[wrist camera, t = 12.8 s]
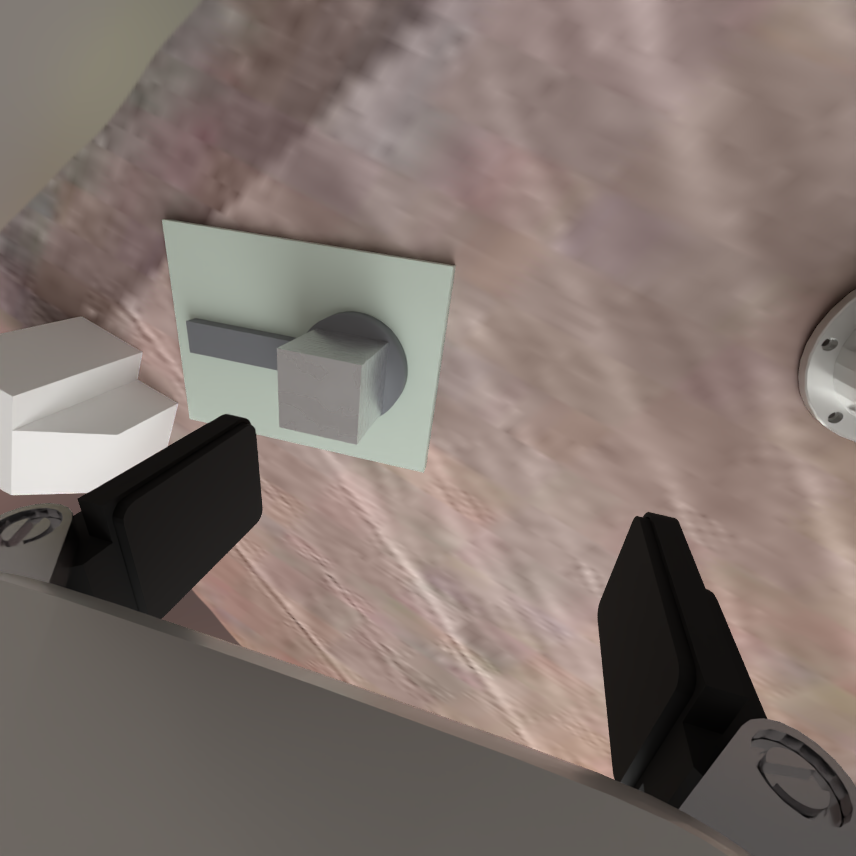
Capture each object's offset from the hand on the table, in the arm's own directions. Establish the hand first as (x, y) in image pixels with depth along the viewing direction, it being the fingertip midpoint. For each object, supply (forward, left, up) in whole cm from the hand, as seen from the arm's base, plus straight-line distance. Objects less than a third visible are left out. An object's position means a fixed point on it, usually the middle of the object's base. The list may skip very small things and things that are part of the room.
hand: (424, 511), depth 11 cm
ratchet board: (+16, +6, -26) cm, 31 cm away
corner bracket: (+36, +14, -26) cm, 47 cm away
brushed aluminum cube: (+11, +6, -23) cm, 26 cm away
